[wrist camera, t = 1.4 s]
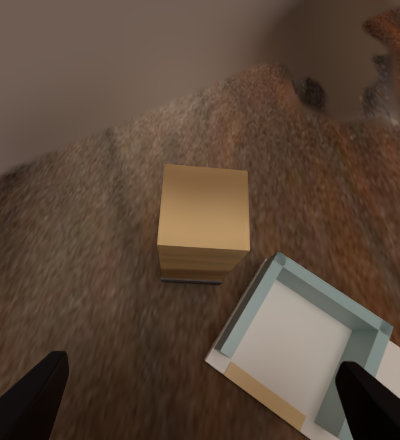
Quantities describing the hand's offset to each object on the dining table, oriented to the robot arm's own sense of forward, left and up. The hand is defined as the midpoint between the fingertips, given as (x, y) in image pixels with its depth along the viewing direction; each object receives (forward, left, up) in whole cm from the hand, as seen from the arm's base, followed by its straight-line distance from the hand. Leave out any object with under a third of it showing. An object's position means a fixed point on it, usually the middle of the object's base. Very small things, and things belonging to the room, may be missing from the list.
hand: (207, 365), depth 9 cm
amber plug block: (+6, +4, -13) cm, 15 cm away
